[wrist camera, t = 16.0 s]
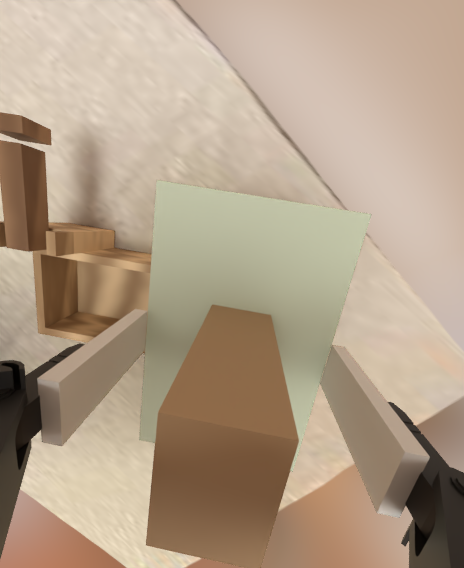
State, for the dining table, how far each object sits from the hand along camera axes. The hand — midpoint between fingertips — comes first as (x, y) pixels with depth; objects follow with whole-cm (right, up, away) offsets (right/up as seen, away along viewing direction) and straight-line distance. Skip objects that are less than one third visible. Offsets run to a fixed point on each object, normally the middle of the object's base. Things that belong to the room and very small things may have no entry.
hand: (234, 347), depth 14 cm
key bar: (-21, +14, +11) cm, 27 cm away
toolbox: (-16, +4, +21) cm, 27 cm away
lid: (0, 0, +1) cm, 1 cm away
